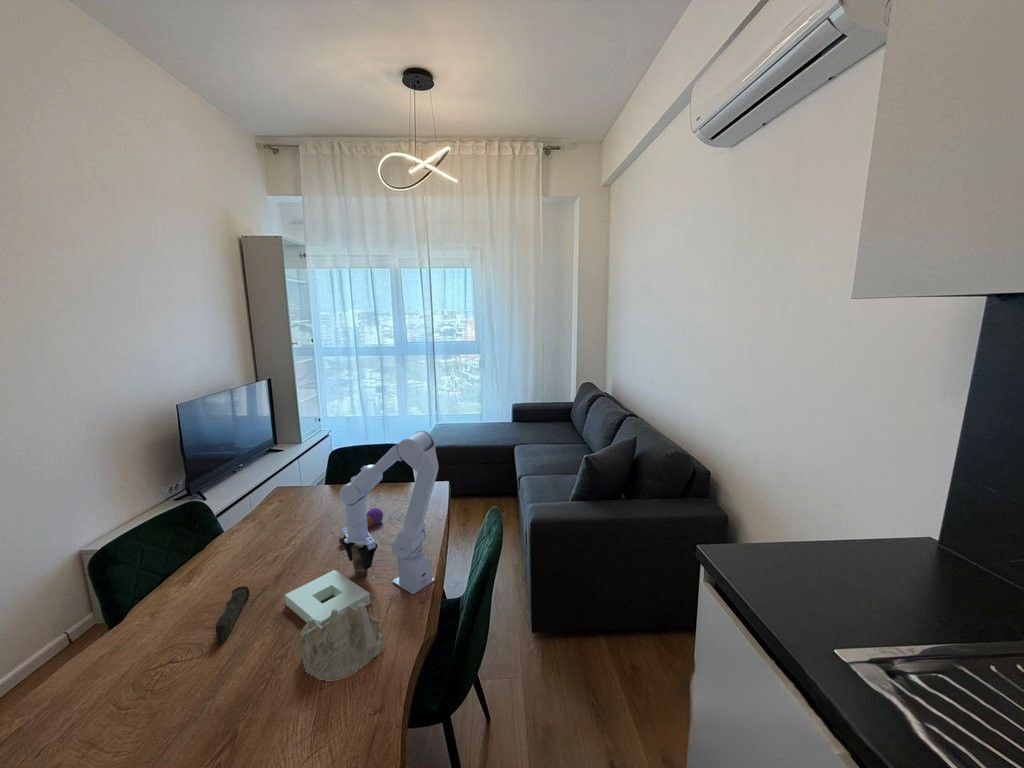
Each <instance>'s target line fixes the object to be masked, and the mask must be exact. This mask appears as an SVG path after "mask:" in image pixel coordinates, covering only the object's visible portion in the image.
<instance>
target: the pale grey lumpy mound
mask: <svg viewBox="0 0 1024 768" xmlns="http://www.w3.org/2000/svg"><path fill="white" fill-rule="evenodd" d="M379 623H380V620H378V619H377V618H374V617H373V616H371V615H369V613H368V609H367V606H366V605H365V603H359V605H358V606H357V609H355V608H354V607H352V606H351V605H349V606H348V609H347V611H346V613H345V611H344V612H342V613H340V611H337V610H336V609H332V612H331V615H330V616H329V617H328V618H327V619H325V620H324V621H322V622H320V621H318V620H315V619H313V618H309V620H308V622H307V623H306V624H305V625H304V626H303V627H302V629H301V631H300V632H299V635H298V636H299V638H300V639H301V640H300V643H301V644H302V645H303V648H302V651H301V661H302V660H303V661H302V665H303V664H304V665H303V669H304V668H305V670H306V671H305V670H304V671H305V673H306V672H307V673H306V674H307V675H308V674H310V675H312V676H314V677H317V678H320V679H323V680H336V679H337V680H338V679H340V678H343V677H346V676H348V675H350V674H352V675H354V674H353V673H354V672H355V671H356V670H358V669H359V668H360V667H361V666H363V665H364V664H365V663H367V662H369V661H370V660H371V659H372V658H374V657H376V656H377V655H378V654H379V653H381V652H382V653H383V651H384V649H385V648H384V644H386V642H385V639H384V636H383V634H382V633H381V632H380V631H381V629H380V627H379ZM384 642H385V643H384ZM383 648H384V649H383ZM382 650H383V651H382ZM382 653H381V654H382ZM378 656H379V655H378ZM378 656H377V657H378ZM377 657H376V658H377ZM369 663H370V662H369ZM314 677H313V678H314ZM338 681H339V680H338Z"/></svg>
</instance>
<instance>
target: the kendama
mask: <svg viewBox="0 0 1024 768" xmlns="http://www.w3.org/2000/svg"><path fill="white" fill-rule="evenodd" d="M366 514H367V526H368V527H372V526H375V525H378V524H380V523H381V522H382V520H383V518H384V512H383V511H382V509H380V508H378V507H373V508H370V509H369V510H368V511H367V512H366ZM344 537H345V536H343V535H342V536H341V537H339V538H338V544H339V545H340V546H342V547H344V546H343V545H342V543H341V542H340V539H342V538H344Z"/></svg>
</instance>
